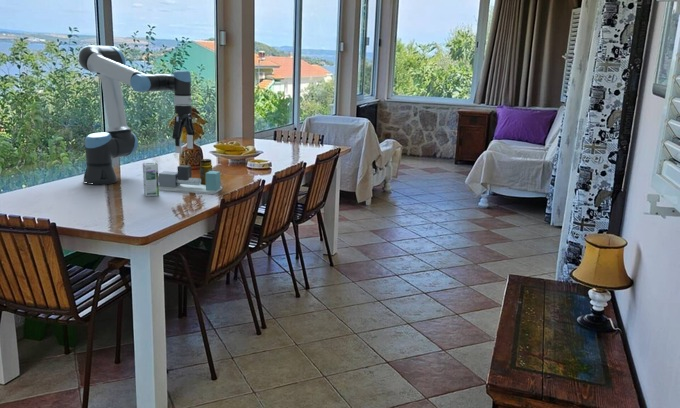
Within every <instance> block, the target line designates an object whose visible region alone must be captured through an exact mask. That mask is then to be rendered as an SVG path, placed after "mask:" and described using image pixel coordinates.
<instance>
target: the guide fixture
mask: <svg viewBox="0 0 680 408" xmlns="http://www.w3.org/2000/svg"><path fill="white" fill-rule="evenodd" d="M158 175H159V191H166V192H167V191H168V192H179V193H180V192H181V193H191V194H194V193H195V194H203V195H204V194H205V195H215V194H217V193H218V192H220V191H221V190H223V186H221V171H216V170H212V171H209V172H207V173H206V185H200V186H198V185H185V184H176V177H178V171H167V170H166V171H165V170H164V171H161V172H158Z"/></svg>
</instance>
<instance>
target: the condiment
mask: <svg viewBox="0 0 680 408" xmlns="http://www.w3.org/2000/svg"><path fill="white" fill-rule="evenodd" d="M209 171H213V164H212V159H210V158H203V159H201V160H200V164H199V178H200V179H201V185H206V173H207V172H209Z"/></svg>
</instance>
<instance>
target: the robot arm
mask: <svg viewBox="0 0 680 408" xmlns="http://www.w3.org/2000/svg"><path fill="white" fill-rule="evenodd" d="M77 59H78V61H77V62H78V63H79V65H80V66H81V68H83V69H85V70H86V71H88V72H90V73H94V74H96V76H97V77H99V78H100V83H101V88H102V93H103V99H104V105H105V113H106V117H107V119H106V120H107V124H108V128H107V129H106V131H103V132H102V131H101V132H94V133H90V134H88V135H87V136H86V137H85V139H84V148H85V161H86V162H85V163H86V164H85V165H86V167H85V171H84V175H83V177H82V178H83V179H82V180H83V183H84V182H87V183H93V184H105V185H111V184H114V183H117V182H118V176H117V174H116V171H115V169H114V167H113V159H117V158H123V157H124V158H125V157H128V156H133V155H134V154H135V153H136V151H137V150H138V146H139V140H138V139H139V138H138V137H137V136H136V134H135V133H134V132H132V129H131V127H129V126H128V124H127V123H128V122H127V118H126V110H125V105H124V97H123V93H122V87H121V86H122V85H121V83H122V84H124V85H127V86H130V87H131V89H132V90H133V91H134V92H138V93H146V92H148V93H149V92H167V91H168V92H173V94H174V95H173V97H174V114H177V116H175V117H174V124H173V131H172V139H173V140H174V151H175V154H182V153H183V152H182V151H183V149H182V132H183V130H184V129H185V131H186V149H189V150H190V149H191V150H193V149H194V137H193V136H195V135H196V132H195V128H194V123H193V119H192V118H193V117H192V116H193V115H192V113H193V112H192V111H193V110H192V100H193V98H192V78H191V77H192V76H191V72H190V71H189V70H174V71H173V74H169V73H155V74H153V73H150V74H149V73H144V72H142V71H140V70H137V69H134V68H133V67H129V66H127V65H125V64H126V57H125V55H124V53H123V51H122V50H120V49H119V48H118V47H117V46H112V45H86V46H84V47H82V48H81V49H80V50H79V52H78V55H77Z"/></svg>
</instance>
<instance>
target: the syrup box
mask: <svg viewBox="0 0 680 408" xmlns="http://www.w3.org/2000/svg"><path fill="white" fill-rule="evenodd" d="M158 175H159V164H158V162H143V163H142V178H143V192H144V193H143V194H144V196H145V197H159V196H160V190H159V180H158Z"/></svg>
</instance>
